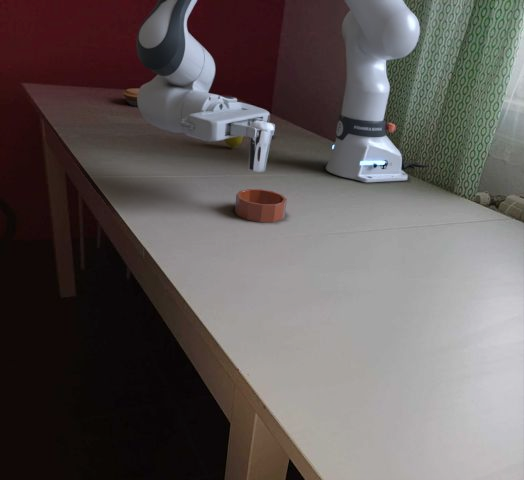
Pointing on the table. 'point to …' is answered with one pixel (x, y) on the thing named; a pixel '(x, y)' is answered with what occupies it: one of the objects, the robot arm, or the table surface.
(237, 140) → the lemon
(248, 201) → the orange round shallow bowl
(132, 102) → the pie
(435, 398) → the table surface
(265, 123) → the milkshake
